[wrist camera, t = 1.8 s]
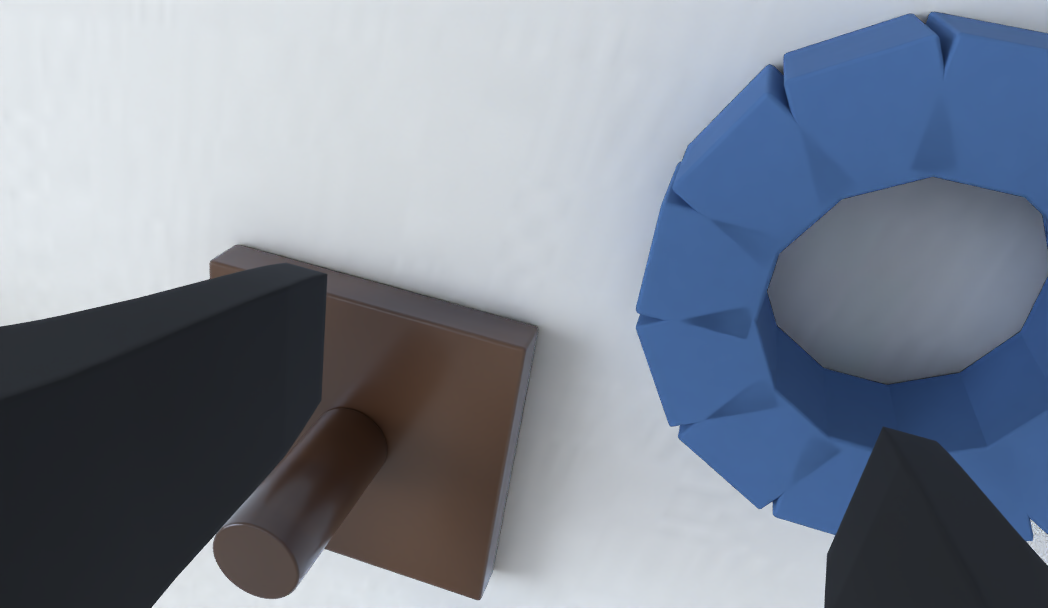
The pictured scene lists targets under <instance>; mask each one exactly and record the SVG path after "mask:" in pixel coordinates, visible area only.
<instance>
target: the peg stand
mask: <svg viewBox="0 0 1048 608" xmlns="http://www.w3.org/2000/svg"><path fill="white" fill-rule="evenodd" d="M279 263H290V264H294V265H297V266H301V267H305V268H308V269H312V270H315V271H319V272H323V273H326V274H328V275H327V296H326V316H325V337H324V358H323V379H322V399H321V402H320V404H319V405H318V407H317V408H316V410H315V412H314V413H313V415H312V416H311V418H310V419H309V421H308V422H307V424H306V426H305V427H304V429H303V430H302V432H301V433H300V435H299V436H298V438H297V439H296V441H295V442H294V443H293V445H292V446H291V448H290V449H289V451H288V452H287V454H286V455H285V457H284V458H283V459H282V460H281V461H280V462H279V464H278V465H277V466H276V467H275V468H274V469H273V471H272V472H271V473H270V474H269V475H268V476H267V477H266V478H265V480H264V481H263V482H262V483H261V484H260V485H259V486H258V488H257V489H256V490H255V491H254V492H253V493H252V494H251V495H250V497H249V498H248V499H247V500H246V501H245V502H244V503H243V504H242V505H241V507H240V508H239V509H238V510H237V511H236V512H235V513H234V514H233V515H232V516H231V518H230V519H229V520H228V521H227V522H226V523H225V524H224V525H223V526H222V528H221V529H220V530H219V531H218V532H217V533H216V535H215V538H214V542H213V552H214V557H215V559H216V562H217V564H218V566H219V567H220V569H221V571H222V572H223V573H224V574H225V576H226V577H227V578H228V579H229V580H230V581H231V582H232V583H234V584H235V585H236V586H237V587H239V588H240V589H242V590H243V591H245V592H247V593H249V594H252V595H254V596H257V597H260V598H266V599H278V598H282V597H285V596H287V595H289V594H290V593H292V592H293V591H294V590H295V589H296V587H297V586H298V585H299V583H300V582H301V580H302V579H303V578H304V576H305V575H306V573H307V572H308V570H309V569H310V568H311V566H312V565H313V563H314V562H315V561H316V559H317V558H318V556H319V555H320V554H321V552H322V551H323V549H326V550H329V551H332V552H335V553H338V554H341V555H344V556H347V557H350V558H353V559H356V560H359V561H362V562H365V563H368V564H371V565H374V566H377V567H380V568H383V569H386V570H389V571H392V572H395V573H398V574H401V575H404V576H407V577H410V578H413V579H416V580H419V581H422V582H425V583H428V584H431V585H434V586H437V587H440V588H443V589H446V590H449V591H451V592H454V593H457V594H460V595H463V596H466V597H469V598H472V599H475V600H480V599H481V598H482V596H483V593H484V591H485V589H486V586H487V584H488V582H489V579H490V577H491V575H492V572H493V568H494V563H495V558H496V553H497V547H498V542H499V537H500V531H501V526H502V521H503V515H504V510H505V505H506V499H507V494H508V489H509V483H510V478H511V473H512V467H513V462H514V457H515V451H516V446H517V441H518V436H519V430H520V425H521V420H522V414H523V409H524V404H525V398H526V393H527V388H528V382H529V377H530V372H531V366H532V361H533V356H534V350H535V345H536V340H537V335H538V327H536V326H533V325H529V324H526V323H522V322H518V321H515V320H511V319H507V318H504V317H500V316H496V315H493V314H489V313H485V312H482V311H478V310H474V309H471V308H467V307H464V306H460V305H456V304H453V303H449V302H445V301H442V300H438V299H434V298H431V297H427V296H423V295H420V294H416V293H412V292H409V291H405V290H402V289H398V288H394V287H391V286H387V285H383V284H380V283H376V282H372V281H369V280H365V279H361V278H358V277H354V276H351V275H347V274H343V273H340V272H336V271H332V270H329V269H325V268H321V267H318V266H314V265H310V264H307V263H303V262H299V261H296V260H292V259H289V258H285V257H281V256H278V255H274V254H270V253H267V252H263V251H259V250H256V249H252V248H248V247H245V246H241V245H235V246H233V247H231V248H230V249H228V250H227V251H225V252H223V253H222V254H220V255H219V256H217V257H215V258H214V259H212V260H211V261H210V279H213V278H216V277H220V276H224V275H228V274H232V273H236V272H240V271H244V270H248V269H252V268H257V267H262V266H267V265H272V264H279Z"/></svg>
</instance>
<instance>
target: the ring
mask: <svg viewBox="0 0 1048 608" xmlns="http://www.w3.org/2000/svg"><path fill="white" fill-rule="evenodd" d="M930 177H936V178H941V179H945V180H949V181H954V182H958V183H963V184H967V185H972V186H976V187H981V188H985V189H990V190H994V191H999V192H1003V193H1007V194H1012V195H1016V196H1021V197H1025V198H1026V199H1027V200H1028V201H1029V202H1030V203H1031V204H1032V205H1033V206H1034V207H1035V208H1036V209H1037V210H1038V211H1039V212H1040V213H1041V214H1042V216H1043V222H1044V228H1045V234H1046V241H1047V247H1048V33H1043V32H1037V31H1032V30H1027V29H1022V28H1016V27H1011V26H1006V25H1001V24H996V23H990V22H985V21H980V20H975V19H970V18H964V17H959V16H954V15H949V14H944V13H938V12H931V13H930V14H929V16H928V18H927V21H926V24H924V23H923V22H922V21H921V20H920V19H918V18H917V17H916V16H915V15H914V14H907V15H904V16H901V17H897V18H894V19H891V20H888V21H885V22H882V23H879V24H876V25H872V26H869V27H866V28H863V29H860V30H857V31H854V32H851V33H847V34H844V35H841V36H838V37H835V38H832V39H829V40H826V41H822V42H819V43H816V44H813V45H810V46H807V47H804V48H801V49H797V50H794V51H791V52H788V53H786V54H785V55H784V75H783V74H782V73H781V72H780V71H778V70H777V69H776V68H775V67H774V66H773V65H770V64H769V65H767V66H766V67H765V68H764V69H763V70H762V71H761V72H760V73H759V74H758V75H757V76H756V77H755V78H754V79H753V80H752V81H751V82H750V83H749V84H748V85H747V86H746V87H745V88H744V89H743V90H742V91H741V92H740V93H739V94H738V95H737V96H736V97H735V98H734V99H733V100H732V101H731V102H730V103H729V104H728V105H727V106H726V107H725V109H724V110H723V111H722V112H721V113H720V114H719V115H718V116H717V117H716V118H715V119H714V120H713V121H712V122H711V123H710V124H709V125H708V126H707V127H706V128H705V129H704V130H703V131H702V132H701V133H700V134H699V135H698V136H697V137H696V138H695V139H694V140H693V141H692V142H691V143H690V144H689V145H688V147H687V149H686V152H685V154H684V157H683V160H682V162H679V163H678V164H677V167H676V169H675V172H674V174H673V177H672V179H671V182H670V184H669V187H668V189H667V192H666V194H665V197H664V199H663V202H662V205H661V208H660V212H659V216H658V220H657V224H656V229H655V233H654V237H653V241H652V245H651V249H650V253H649V257H648V261H647V265H646V269H645V273H644V277H643V281H642V285H641V289H640V293H639V297H638V301H637V305H636V311H637V313H639V314H640V316H639V319H638V322H637V325H636V330H637V333H638V336H639V339H640V342H641V345H642V348H643V350H644V353H645V356H646V359H647V362H648V365H649V368H650V371H651V374H652V377H653V380H654V382H655V385H656V388H657V391H658V394H659V397H660V400H661V403H662V406H663V409H664V412H665V414H666V417H667V420H668V423H669V425H670V426H671V427H672V426H678V425H680V429H679V434H678V438H679V439H680V440H681V441H682V442H683V443H684V444H686V445H687V446H688V447H689V448H690V449H691V450H692V451H693V452H695V453H696V454H697V455H698V456H699V457H700V458H701V459H703V460H704V461H705V462H706V463H707V464H708V465H709V466H710V467H712V468H713V469H714V470H715V471H716V472H717V473H718V474H720V475H721V476H722V477H723V478H724V479H725V480H726V481H727V482H729V483H730V484H731V485H732V486H733V487H734V488H735V489H737V490H738V491H739V492H740V493H741V494H742V495H743V496H745V497H746V498H747V499H748V500H749V501H750V502H751V503H752V504H754V505H755V506H756V507H757V508H758V509H762V508H763V507H765V506H766V505H767V504H769V503H770V502H772V501H773V515H774V516H775V517H777V518H780V519H784V520H787V521H790V522H794V523H797V524H800V525H804V526H807V527H810V528H814V529H817V530H820V531H824V532H827V533H830V534H834V535H836V533H837V531H838V528H839V526H840V524H841V521H842V519H843V517H844V514H845V512H846V510H847V508H848V505H849V503H850V501H851V498H852V496H853V494H854V492H855V489H856V487H857V485H858V482H859V480H860V478H861V475H862V473H863V471H864V469H865V466H866V464H867V462H868V459H869V457H870V455H871V453H872V450H873V448H874V446H875V443H876V441H877V439H878V436H879V434H880V432H881V430H882V427H883V426H884V427H887V428H891V429H894V430H898V431H902V432H905V433H909V434H913V435H916V436H920V437H924V438H927V439H931V440H934V441H937V442H938V443H939V444H940V445H941V446H942V447H943V448H944V449H945V450H946V451H947V452H948V453H949V454H950V455H951V456H952V457H953V458H954V459H955V460H956V462H957V463H958V464H959V465H960V466H961V467H962V468H963V469H964V471H965V472H966V473H967V474H968V475H969V476H970V478H971V479H972V480H973V481H974V482H975V483H976V484H977V486H978V487H979V488H980V489H981V490H982V491H983V493H984V494H985V495H986V496H987V497H988V498H989V500H990V501H991V502H992V503H993V504H994V505H995V507H996V508H997V509H998V510H999V511H1000V512H1001V514H1002V515H1003V516H1004V517H1005V518H1006V519H1007V520H1008V522H1009V523H1010V524H1011V525H1012V526H1013V527H1014V529H1015V530H1016V531H1017V532H1018V533H1019V534H1020V535H1021V537H1022V538H1023V539H1024V540H1025V541H1031V540H1033V532H1032V527H1031V522H1030V519H1031V520H1032V521H1034V522H1035V523H1036V524H1037V525H1038V526H1039V527H1040V528H1041V529H1042V530H1043V531H1045V532H1046V533H1047V534H1048V278H1047V280H1046V282H1045V284H1044V286H1043V288H1042V290H1041V292H1040V294H1039V296H1038V298H1037V300H1036V302H1035V304H1034V306H1033V308H1032V310H1031V312H1030V314H1029V316H1028V318H1027V320H1026V322H1025V324H1024V326H1023V328H1022V330H1021V331H1020V332H1019V333H1017V334H1016V335H1014V336H1013V337H1011V338H1010V339H1008V340H1007V341H1005V342H1004V343H1002V344H1001V345H1000V346H998V347H997V348H995V349H994V350H992V351H991V352H989V353H988V354H986V355H985V356H983V357H982V358H980V359H979V360H977V361H976V362H975V363H973V364H972V365H970V366H969V367H967V368H966V369H964V370H963V371H961V372H960V373H955V374H949V375H943V376H937V377H931V378H925V379H919V380H913V381H907V382H901V383H895V384H889V385H885V384H882V383H878V382H874V381H870V380H867V379H863V378H859V377H855V376H852V375H848V374H844V373H840V372H837V371H833V370H829V369H825V368H823V367H822V366H821V365H820V364H818V363H817V362H816V361H815V360H814V359H813V358H812V357H811V356H810V355H809V354H807V353H806V352H805V351H804V350H803V349H802V348H801V347H800V346H799V345H798V344H797V343H795V342H794V341H793V340H792V339H791V338H790V337H789V336H788V335H787V334H786V333H784V332H783V331H782V330H781V329H780V328H779V327H778V326H777V325H776V321H775V318H774V314H773V311H772V307H771V304H770V300H769V297H768V293H767V290H768V287H769V284H770V281H771V278H772V275H773V272H774V269H775V266H776V263H777V260H778V256H779V254H780V253H781V252H782V251H783V250H784V249H785V248H787V247H788V246H789V245H790V244H791V243H792V242H793V241H795V240H796V239H797V238H798V237H799V236H800V235H802V234H803V233H804V232H805V231H806V230H807V229H808V228H810V227H811V226H812V225H813V224H814V223H815V222H817V221H818V220H819V219H820V218H821V217H822V216H823V215H825V214H826V213H827V212H828V211H829V210H830V209H832V208H833V207H834V206H835V205H836V204H837V203H838V202H840V201H841V200H842V199H846V198H850V197H854V196H858V195H862V194H866V193H870V192H874V191H878V190H882V189H886V188H890V187H894V186H898V185H902V184H906V183H910V182H914V181H918V180H922V179H926V178H930Z"/></svg>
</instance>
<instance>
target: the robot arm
mask: <svg viewBox="0 0 1048 608" xmlns="http://www.w3.org/2000/svg"><path fill="white" fill-rule="evenodd" d="M327 275H328V274H326V273H323V272H319V271H315V270H312V269H308V268H305V267H301V266H297V265H294V264H290V263H279V264H272V265H267V266H262V267H257V268H252V269H248V270H244V271H240V272H236V273H232V274H228V275H224V276H220V277H216V278H213V279H209V280H205V281H201V282H197V283H194V284H190V285H186V286H182V287H178V288H175V289H171V290H167V291H163V292H159V293H156V294H152V295H148V296H144V297H140V298H136V299H131V300H127V301H123V302H118V303H114V304H110V305H105V306H101V307H97V308H92V309H88V310H83V311H79V312H75V313H70V314H66V315H62V316H57V317H52V318H47V319H42V320H36V321H31V322H25V323H20V324H14V325H8V326H1V327H0V608H152V606H153V605H154V604H155V603H156V601H157V600H158V599H159V598H160V597H161V595H162V594H163V593H164V592H165V591H166V589H167V588H168V587H169V586H170V585H171V583H172V582H173V581H174V580H175V578H176V577H177V576H178V575H179V574H180V573H181V572H182V571H183V570H184V568H185V567H186V566H187V565H188V564H189V563H190V562H191V561H192V560H193V559H194V557H195V556H196V555H197V554H198V553H199V552H200V551H201V550H202V549H203V547H204V546H205V545H206V544H207V543H208V542H209V541H210V540H211V539H212V538H213V536H214V535H215V534H216V533H217V532H218V531H219V530H220V529H221V528H222V526H223V525H224V524H225V523H226V522H227V521H228V520H229V519H230V518H231V516H232V515H233V514H234V513H235V512H236V511H237V510H238V509H239V508H240V507H241V505H242V504H243V503H244V502H245V501H246V500H247V499H248V498H249V497H250V495H251V494H252V493H253V492H254V491H255V490H256V489H257V488H258V486H259V485H260V484H261V483H262V482H263V481H264V480H265V478H266V477H267V476H268V475H269V474H270V473H271V472H272V471H273V469H274V468H275V467H276V466H277V465H278V464H279V462H280V461H281V460H282V459H283V458H284V457H285V455H286V454H287V452H288V451H289V449H290V448H291V446H292V445H293V443H294V442H295V441H296V439H297V438H298V436H299V435H300V433H301V432H302V430H303V429H304V427H305V426H306V424H307V422H308V421H309V419H310V418H311V416H312V415H313V413H314V412H315V410H316V408H317V407H318V405H319V404H320V402H321V399H322V379H323V358H324V337H325V316H326V296H327ZM824 608H1048V566H1047V565H1046V563H1045V562H1044V561H1043V560H1042V559H1041V558H1040V557H1039V556H1038V555H1037V553H1036V552H1035V551H1034V550H1033V549H1032V548H1031V547H1030V546H1029V544H1028V543H1027V542H1026V541H1025V540H1024V539H1023V538H1022V537H1021V535H1020V534H1019V533H1018V532H1017V531H1016V530H1015V529H1014V527H1013V526H1012V525H1011V524H1010V523H1009V522H1008V520H1007V519H1006V518H1005V517H1004V516H1003V515H1002V514H1001V512H1000V511H999V510H998V509H997V508H996V507H995V505H994V504H993V503H992V502H991V501H990V500H989V498H988V497H987V496H986V495H985V494H984V493H983V491H982V490H981V489H980V488H979V487H978V486H977V484H976V483H975V482H974V481H973V480H972V479H971V478H970V476H969V475H968V474H967V473H966V472H965V471H964V469H963V468H962V467H961V466H960V465H959V464H958V463H957V462H956V460H955V459H954V458H953V457H952V456H951V455H950V454H949V453H948V452H947V451H946V450H945V449H944V448H943V447H942V446H941V445H940V444H939V443H938V442H937V441H934V440H931V439H927V438H924V437H920V436H916V435H913V434H909V433H905V432H902V431H898V430H894V429H891V428H887V427H884V426H883V427H882V430H881V432H880V434H879V436H878V439H877V441H876V443H875V446H874V448H873V450H872V453H871V455H870V457H869V459H868V462H867V464H866V466H865V469H864V471H863V473H862V475H861V478H860V480H859V482H858V485H857V487H856V489H855V492H854V494H853V496H852V498H851V501H850V503H849V505H848V508H847V510H846V512H845V514H844V517H843V519H842V521H841V524H840V526H839V528H838V531H837V533H836V535H835V537H834V540H833V542H832V544H831V547H830V549H829V551H828V553H827V567H826V584H825V607H824Z"/></svg>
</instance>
